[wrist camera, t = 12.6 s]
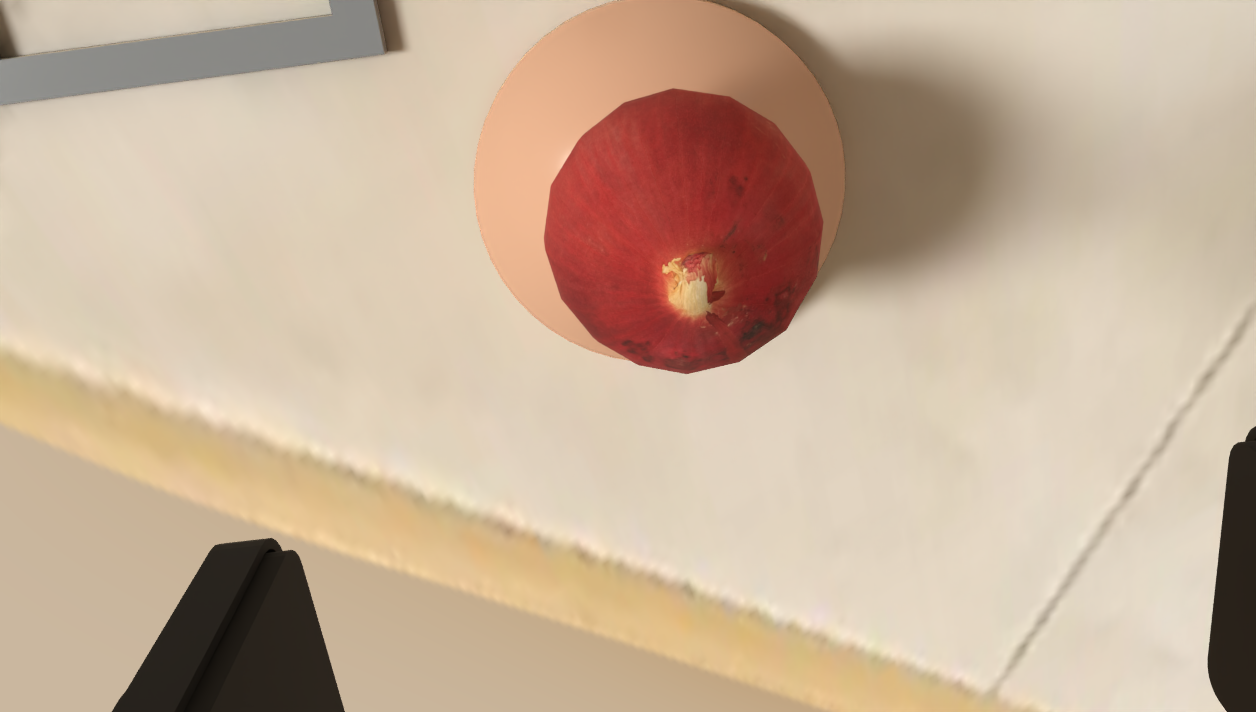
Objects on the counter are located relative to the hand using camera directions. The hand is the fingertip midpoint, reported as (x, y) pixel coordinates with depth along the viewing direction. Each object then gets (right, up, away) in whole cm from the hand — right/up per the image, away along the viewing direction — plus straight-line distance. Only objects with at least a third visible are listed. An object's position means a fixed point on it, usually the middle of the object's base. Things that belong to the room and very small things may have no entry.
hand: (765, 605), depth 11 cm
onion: (0, +7, +16) cm, 17 cm away
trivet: (-1, +7, +16) cm, 18 cm away
